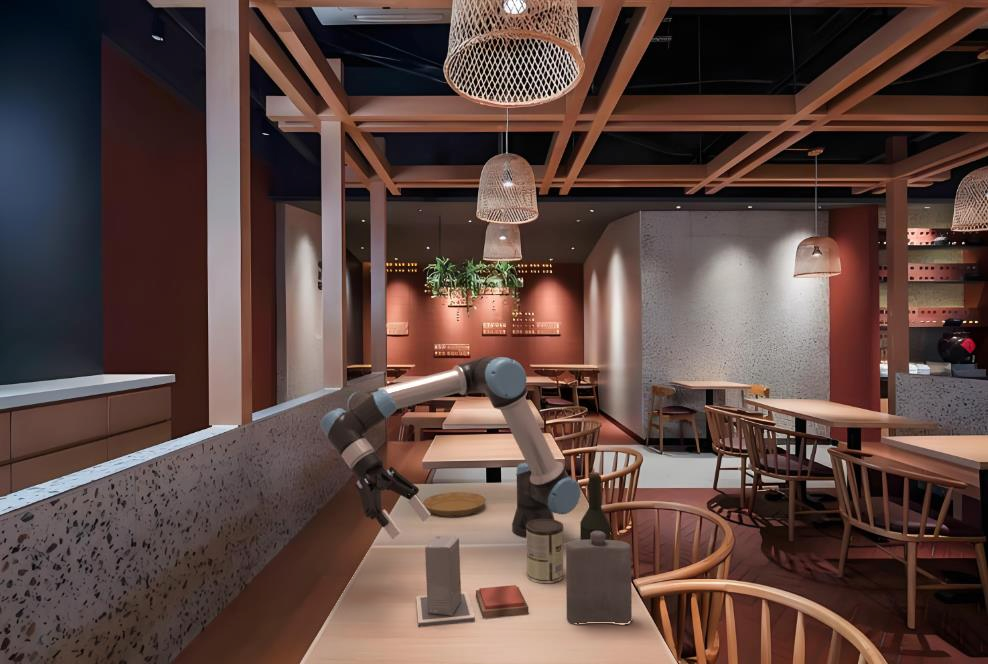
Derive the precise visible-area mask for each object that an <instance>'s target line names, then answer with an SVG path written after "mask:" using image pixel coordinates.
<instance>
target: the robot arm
mask: <svg viewBox="0 0 988 664" xmlns="http://www.w3.org/2000/svg"><path fill="white" fill-rule="evenodd" d="M526 382H527V374H526V371H525V369H524V368H523V366H522V364H520V362H518V361H517V360H515V359H511V358H509V357H506V356H505V357H503V356H500V357H495V356H494V357H493V356H482V357H478V358H476V359H472V360H470V361H467V362H463V363H460V364H456V365H454V366H453V367H452V369H449V370H445V371H442V372H438V373H437V372H436V373H433V374H430V375H425V376H422V377H418V378H414V379H410V380H406V381H400V382H398V383H397V382H396V383H393V384H390V385H387V386H381V387H378V388H373V389H370V390H366V391H363V390H360V391H355V392H353V393H352V394H351V395H350V396H349V398H348V399H347V402H346V403H347V404H346V405H347V411H346V410H344V409H343V408H341V407H339V408H335V409H334V410H330V411H329V412H327V414H325V415H324V416H323V418H322V419H321V420H320V429H321V430H322V432H323V434H324V435H325V436H326V438H327V440H328V441H329V442H330V443H331V445H332V446H333V448H334V449H335V450H336V451H337V452H338V454H339V455H340V456H341V458H342V459H343V460H344V462H345V463H346V464H347V466H348V467H349V469H351V470H352V473H353V475H354V476H355V477H356V479H357V482H356V483H354V486H355V488H356V489H357V491H358V493H359V497H360V501H361V504H362V505H361V506H362V507H363V511H364V514H365V517H366V518H370V519H371V520H375V519H376V521H377V522H378V524H379V525H380V526H381V527H382V528H384V530H385V531H386V533H387V534H388V535H389V537H390V539H392V540H395V538H397V536H398V535H399V534H400V533H401V532H402V531H401V529H400V528H399V527H398V525H397V524H396V522H395V521H394V520H393V519H392V518H391V516H390V515H389V513H388V511H387V510H386V509H382V508H383V507H382V498H381V497H382V496H381V492H382V491H385V490H387V491H392V492H394V493H396V494H397V495H399V496H401V497H403V498H405V499H407V500H408V504H409V505H410V507H411V508H412V509H413V510H414V512H415V513H416V514H417V516H418V517H419V518H420V520H421V521H422V522H425V521H426V520H427V519H428V518H429V517H430V516H432V515H431V514H432V513H431V512H429V511H428V510H427V509H426V507H425V506H424V504H423V501H422V500H421V499H420V498H419V496H418V493H419V492H420V491H419V490H420V489H419V487H417V485H415V484H414V483H413V482H412V481H410V480H408V479H407V478H406V477H405V476H403V475H401V473H399V472H398V471H397V470H396V469H395V468H394V467H393V466H390V467H388V469H387V470H386V469H385V468H384V467H383V465H384V461H383V460H382V459H381V457H380V455H378V453H377V452H375V450H374V448H373V446H372V445H371V443H370V442H369V441H368V440H367V439H366V437H365V436H364V435H365V434H366V433H368V432H369V431H371V429H374V428H375V427H376V426H377V425H379V424H380V423H382V422H383V421H385V420H386V419H388V418H390V416H391V415H393V414H394V413H395V412H396V411H397V410H398V409H403V408H406V407H410V406H415V405H417V404H421V403H426V402H428V401H432V400H435V399H436V400H437V399H439V398H444V397H446V396H450V395H454V394H460V395H462V396H463V395H467V394H472V393H473V394H474V393H480V394H486V395H487V397H488V399H489V401H490V403H491V405H492V407H493V408H494V409H496V410H500V411H501V414H502V416H503V418H504V420H505V422H506V423H507V426H508V428H509V430H510V432H511V434H512V436H513V438H514V440H515V442H516V444H517V446H518V449H519V450H520V452H521V454H522V456H523V459H524V460H525V462H523V463H522V462H521V463H519V464H518V465H517V467H516V473H515V476H516V510H515V513H514V516H513V520H512V523H511V531H512V533H513V534H514V535H517V536H519V537H523V538H526V523H527V522H529V521H531V520H535V519H552V520H556V519H555V516H554V514H557V515H566V514H569V513H570V512H572V511H573V510H574V509H575V508H576V507H577V505H578V504H579V500H580V498H581V487H580V485H579V483H578V481H577V480H576V479H574V478H573V477H570V476H569V474H568V472H567V470H566V468H565V465H564V464H563V463H562V462H561V461H558V460H556V458H555V456H554V453H553V452H552V449H551V447H550V446H549V444H548V442H547V440H546V437H545V435H544V434H543V431H542V430H541V428H540V425H539V422H538V421H537V419H536V417H535V415H534V413H533V410H532V409H531V407H530V405H529V402H528V400H527V398H526V397H527V394H528V389H527V385H526V384H527V383H526ZM553 513H554V514H553Z"/></svg>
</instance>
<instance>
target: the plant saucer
mask: <svg viewBox="0 0 988 664" xmlns="http://www.w3.org/2000/svg"><path fill="white" fill-rule="evenodd" d="M486 501H487V500H486V498H485V497H484V496H483V495H481V494H478V493H473V492H465V491H464V492H463V491H456V492H455V491H453V492H452V491H451V492H442V493H439V494H434V495H431V496H429V497H427V498H425V499H424V500H423V501H422V503H423V505H424V506H425V507H426V509H427V510H428V511H429V513H430V514H433V515H435V514H436V515H437V516H439V515H441V516H440V517H450V516H453V517H463V516H462V515H464V516H469V515H472V514H474V512H475V513H477V512H478V511H480V510H481V509H482V508H483V506H484V505H485V504H486ZM468 514H469V515H468Z"/></svg>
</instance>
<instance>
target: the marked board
mask: <svg viewBox="0 0 988 664" xmlns="http://www.w3.org/2000/svg"><path fill="white" fill-rule="evenodd" d="M415 600H416V601H415V602H416V613H417V614H416V615H417V625H418V628H420V627H421V626H423V627H430V626H431V627H432V626H441V625H452V624H461V623H470V622H471V623H472V622H475V621H476V618H475V612H474V609H473V605H472V603H471V598H470V595H469V592H468V591H461V602H460V604H459V606H458V607H457V609H456V610H455V612H454V613H453V616H450V615H443V614H431V613H428V609H427V594H426V595H416V596H415ZM421 628H422V627H421Z"/></svg>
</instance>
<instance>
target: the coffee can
mask: <svg viewBox="0 0 988 664" xmlns="http://www.w3.org/2000/svg"><path fill="white" fill-rule="evenodd" d="M563 533H564V524H563V523H562V521H561V522H560V520H556V519H555V520H552V519H535V520H531V521H529V522H527V523H526V537H525V538H526V577H527V579H528V578H529V580H530V581H531V580H532V582H533V581H535V582H534V583H537V582H538V583H537V584H543V583H550V584H555V583H554V582H556V583H558V582H557V581H559V582H560V580H561V579H562V578H563V579H564V577H565V576H564V575H563V574H564V534H563ZM563 576H564V577H563ZM563 579H562V580H563ZM562 580H561V581H562Z"/></svg>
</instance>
